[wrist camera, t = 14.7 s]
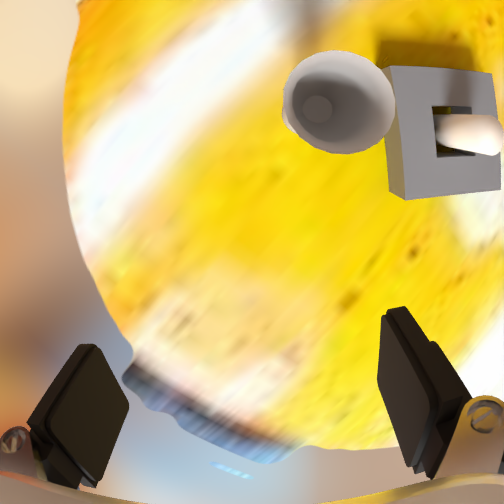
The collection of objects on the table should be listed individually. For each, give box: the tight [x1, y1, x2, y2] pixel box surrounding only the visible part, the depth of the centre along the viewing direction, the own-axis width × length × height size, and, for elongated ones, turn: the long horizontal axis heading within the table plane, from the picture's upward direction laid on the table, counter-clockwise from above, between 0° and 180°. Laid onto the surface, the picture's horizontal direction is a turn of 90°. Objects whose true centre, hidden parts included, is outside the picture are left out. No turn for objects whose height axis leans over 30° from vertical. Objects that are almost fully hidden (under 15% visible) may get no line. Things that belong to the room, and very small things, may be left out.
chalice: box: [282, 50, 395, 154], centre depth 26 cm, size 7×7×18 cm
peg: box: [433, 114, 504, 156], centre depth 29 cm, size 4×4×12 cm
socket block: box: [381, 66, 501, 200], centre depth 32 cm, size 15×15×5 cm
